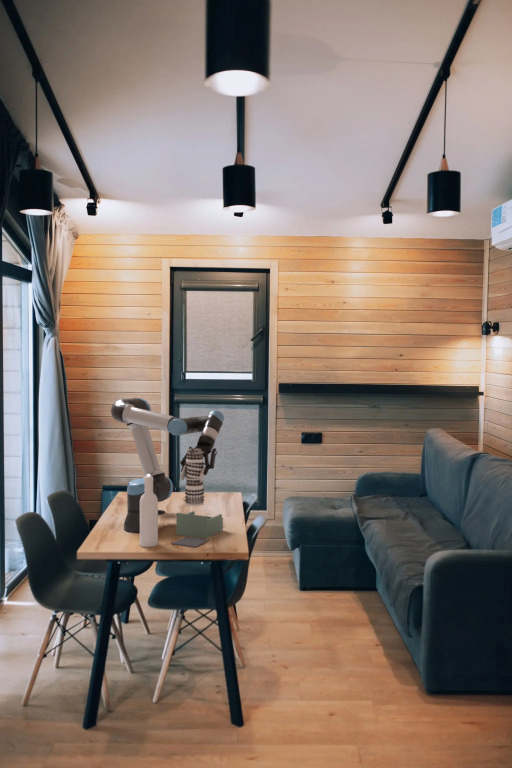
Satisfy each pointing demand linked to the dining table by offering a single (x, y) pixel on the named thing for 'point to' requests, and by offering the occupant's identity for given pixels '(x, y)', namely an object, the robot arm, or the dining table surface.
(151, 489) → the bottle
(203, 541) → the mat
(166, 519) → the dining table surface
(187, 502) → the decorative candle
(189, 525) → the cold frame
